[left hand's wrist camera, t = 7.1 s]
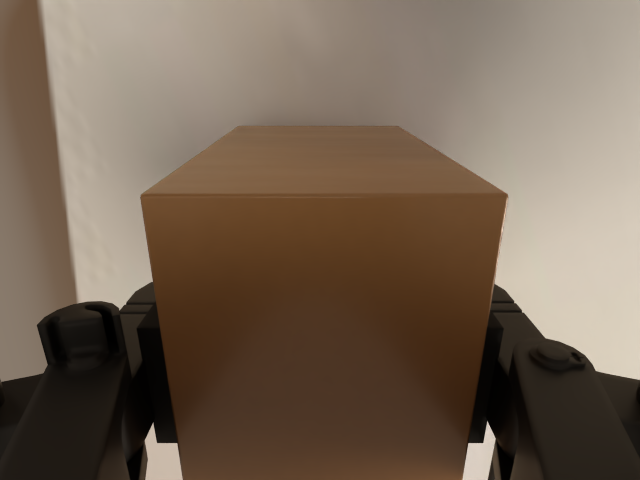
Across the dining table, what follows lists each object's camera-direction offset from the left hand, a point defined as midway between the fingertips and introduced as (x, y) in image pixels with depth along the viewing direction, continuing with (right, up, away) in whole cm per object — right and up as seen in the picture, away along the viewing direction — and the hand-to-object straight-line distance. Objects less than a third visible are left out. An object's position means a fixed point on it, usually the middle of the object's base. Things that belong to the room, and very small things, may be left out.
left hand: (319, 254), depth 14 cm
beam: (0, -27, +11) cm, 29 cm away
